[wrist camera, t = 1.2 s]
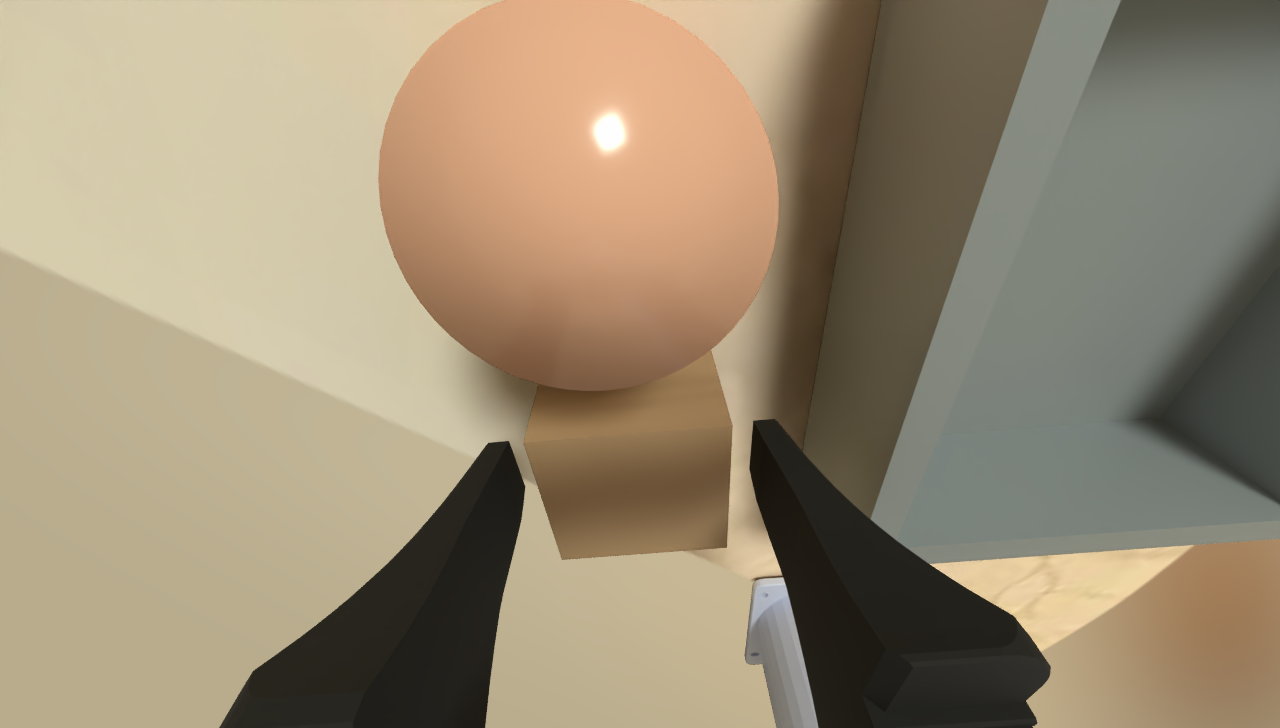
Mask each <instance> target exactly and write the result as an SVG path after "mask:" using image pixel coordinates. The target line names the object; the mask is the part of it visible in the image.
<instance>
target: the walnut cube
mask: <svg viewBox="0 0 1280 728" xmlns="http://www.w3.org/2000/svg"><path fill="white" fill-rule="evenodd" d="M523 443H524V446H525V449H526V452H527V455H528V458H529V461H530V464H531V467H532V470H533V473H534V476H535V479H536V482H537V485H538V489H539V492H540V494H541V498H542V501H543V503H544V507H545V510H546V513H547V516H548V518H549V521H550V525H551V528H552V531H553V534H554V537H555V540H556V543H557V546H558V549H559V552H560V555H561V558H562V560H565V559H578V558H591V557H605V556H619V555H631V554H644V553H645V554H646V553H658V552H673V551H686V550H700V549H713V548H726V547H727V532H728V510H729V489H730V468H731V447H732V422H731V419H730V415H729V412H728V408H727V405H726V401H725V398H724V394H723V391H722V387H721V384H720V380H719V377H718V373H717V370H716V366H715V362H714V359H713V355H712V352H711V350H709V351H708V352H707V353H706V354H705V355H703V356H702V357H700V358H699V359H697V360H696V361H694V362H693V363H691V364H689V365H688V366H686V367H685V368H682V369H680V370H678V371H676V372H674V373H672V374H670V375H668V376H666V377H663V378H660V379H658V380H655V381H652V382H649V383H646V384H642V385H638V386H634V387H630V388H623V389H616V390H608V391H579V390H567V389H561V388H555V387H549V386H545V385H541V384H538V388H537V392H536V395H535V399H534V403H533V407H532V411H531V415H530V419H529V423H528V427H527V431H526V435H525V439H524V442H523Z"/></svg>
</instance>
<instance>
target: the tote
mask: <svg viewBox="0 0 1280 728" xmlns="http://www.w3.org/2000/svg"><path fill="white" fill-rule="evenodd" d="M802 452H803V453H804V454H805V455H806V456H807V457H808V459H809V460H810V461H811V462H812V463H813V464H814V465H815V466H816V467H817V468H818V469H819V471H820V472H821V473H822V474H823V475H824V476H825V477H826V478H827V479H828V480H829V481H830V482H831V483H832V484H833V485H834V486H835V487H836V488H837V489H838V490H839V491H840V492H841V493H842V494H843V495H844V496H845V497H846V498H847V499H848V500H849V501H850V502H852V503H853V504H854V505H855V506H856V507H857V508H858V509H859V510H860V511H862V512H863V513H864V514H865V515H866V516H867V517H868V518H870V519H871V520H872V521H873V522H874V523H876V524H877V525H878V526H879V527H880V528H882V529H883V530H884V531H885V532H887V533H888V534H889V535H890V536H892V537H893V538H894V539H895V540H897V541H898V542H899V543H901V544H902V545H903V546H905V547H906V548H908V549H909V550H910V551H912V552H913V553H915V554H916V555H917V556H919V557H920V558H922V559H923V560H924V561H926V562H927V563H928V564H934V563H948V562H962V561H976V560H990V559H1004V558H1018V557H1031V556H1045V555H1059V554H1073V553H1087V552H1101V551H1115V550H1129V549H1143V548H1157V547H1171V546H1185V545H1198V544H1212V543H1226V542H1239V541H1254V540H1268V539H1280V0H882V1H881V7H880V13H879V18H878V24H877V30H876V35H875V41H874V47H873V52H872V58H871V64H870V70H869V75H868V81H867V87H866V92H865V98H864V104H863V109H862V115H861V121H860V126H859V132H858V138H857V143H856V149H855V155H854V161H853V166H852V172H851V178H850V183H849V189H848V195H847V200H846V206H845V212H844V217H843V223H842V229H841V235H840V240H839V246H838V252H837V257H836V263H835V269H834V274H833V280H832V286H831V291H830V297H829V303H828V309H827V314H826V320H825V326H824V331H823V337H822V343H821V348H820V354H819V360H818V365H817V371H816V377H815V382H814V388H813V394H812V400H811V405H810V411H809V417H808V422H807V428H806V434H805V439H804V445H803V451H802Z"/></svg>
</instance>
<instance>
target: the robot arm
mask: <svg viewBox="0 0 1280 728" xmlns="http://www.w3.org/2000/svg"><path fill="white" fill-rule="evenodd" d="M749 469H750V473H751V478H752V482H753V487H754V491H755V496H756V500H757V503H758V506H759V509H760V512H761V515H762V518H763V521H764V524H765V526H766V529H767V532H768V535H769V538H770V541H771V543H772V546H773V549H774V552H775V555H776V558H777V561H778V563H779V566H780V569H781V572H782V575H783V577H779V578H765V579H759V580H756V581H755V582H754V583H753V587H752V596H751V605H750V614H749V623H748V631H747V641H746V650H745V660H746V663H748V664H752V665H755V664H763V668H764V673H765V677H766V682H767V686H768V691H769V696H770V700H771V705H772V709H773V714H774V718H775V723H776V727H777V728H1033V727H1032V726H1035V725H1036V724H1037V720H1036V717H1035V716H1034V714H1033V712H1032V711H1031V709H1030V707H1029V706H1028V704H1027V702H1026V700H1027V699H1028V698H1029V697H1030V696H1032V695H1033V694H1034V693H1035V692H1036V691H1037V690H1038V689H1039V688H1040V687H1042V686H1043V684H1044V683H1045V682H1046V681H1047V680H1048V678H1049V676H1050V669H1051V667H1050V665H1049V664H1048V662H1047V661H1046V659H1045V658H1044V656H1043V655H1042V653H1041V652H1040V650H1039V649H1038V647H1037V646H1036V644H1035V643H1034V642H1033V640H1032V639H1031V637H1030V636H1029V635H1028V633H1027V632H1026V631H1025V630H1024V628H1023V627H1022V626H1021V625H1020V624H1019V622H1018V621H1017V620H1016V618H1015V617H1014V616H1013V615H1011V614H1009V613H1008V612H1006V611H1004V610H1002V609H1001V608H999V607H997V606H996V605H994V604H992V603H991V602H989V601H987V600H985V599H984V598H982V597H980V596H979V595H977V594H975V593H973V592H972V591H970V590H968V589H967V588H965V587H963V586H962V585H960V584H959V583H957V582H956V581H954V580H952V579H951V578H949V577H948V576H946V575H945V574H943V573H942V572H940V571H939V570H937V569H936V568H934V567H933V566H931V565H930V564H928V563H927V562H926V561H924V560H923V559H922V558H920V557H919V556H917V555H916V554H915V553H913V552H912V551H910V550H909V549H908V548H906V547H905V546H903V545H902V544H901V543H899V542H898V541H897V540H895V539H894V538H893V537H892V536H890V535H889V534H888V533H887V532H885V531H884V530H883V529H882V528H880V527H879V526H878V525H877V524H876V523H874V522H873V521H872V520H871V519H870V518H868V517H867V516H866V515H865V514H864V513H863V512H862V511H860V510H859V509H858V508H857V507H856V506H855V505H854V504H853V503H852V502H850V501H849V500H848V499H847V498H846V497H845V496H844V495H843V494H842V493H841V492H840V491H839V490H838V489H837V488H836V487H835V486H834V485H833V484H832V483H831V482H830V481H829V480H828V479H827V478H826V477H825V476H824V475H823V474H822V473H821V472H820V471H819V469H818V468H817V467H816V466H815V465H814V464H813V463H812V462H811V461H810V460H809V459H808V457H807V456H806V455H805V454H804V453H803V452H802V451H801V449H800V448H799V447H798V446H797V445H796V444H795V442H794V441H793V440H792V439H791V438H790V436H789V435H788V434H787V433H786V431H785V430H784V429H783V428H782V426H781V425H780V424H779V423H778V422H777V421H776V420H775V419H769V420H757V421H753V432H752V444H751V456H750V468H749ZM524 493H525V485H524V482H523V479H522V476H521V473H520V471H519V468H518V465H517V462H516V459H515V457H514V454H513V451H512V448H511V446H510V443H509V441H505V442H493V443H488V444H487V445H486V447H485V448H484V449H483V451H482V452H481V453H480V455H479V456H478V457H477V459H476V460H475V461H474V463H473V464H472V465H471V467H470V468H469V469H468V471H467V472H466V473H465V475H464V476H463V477H462V479H461V480H460V481H459V483H458V484H457V485H456V487H455V488H454V489H453V491H452V492H451V493H450V494H449V496H448V497H447V498H446V500H445V501H444V502H443V503H442V504H441V506H440V507H439V508H438V509H437V510H436V512H435V513H434V514H433V515H432V516H431V517H430V518H429V520H428V521H427V522H426V523H425V524H424V525H423V527H422V528H421V529H420V530H419V531H418V532H417V534H416V535H415V536H414V537H413V538H412V539H411V540H410V541H409V542H408V543H407V544H406V545H405V546H404V547H403V549H402V550H401V551H400V552H399V553H398V554H397V555H396V556H395V557H394V558H393V559H392V560H391V561H390V562H389V563H388V564H387V565H386V566H385V567H383V568H382V569H381V570H380V571H379V572H378V573H377V574H376V575H375V576H374V577H373V578H371V579H370V580H369V581H368V582H367V583H366V584H365V585H364V586H363V587H361V588H360V589H359V590H358V591H357V592H356V593H355V594H354V595H353V596H351V597H350V598H349V599H348V600H347V601H346V602H344V603H343V604H342V605H341V606H339V607H338V608H337V609H336V610H335V611H333V612H332V613H331V614H330V615H328V616H327V617H326V618H325V619H323V620H322V621H321V622H320V623H318V624H317V625H316V626H315V627H313V628H312V629H311V630H309V631H308V632H307V633H305V634H304V635H303V636H301V637H300V638H299V639H297V640H296V641H295V642H293V643H292V644H290V645H289V646H288V647H286V648H285V649H283V650H282V651H281V652H279V653H278V654H277V655H275V656H274V657H272V658H271V659H270V660H268V661H267V662H265V663H264V664H263V665H261V666H260V667H258V668H257V669H255V670H254V671H253V672H252V674H251V675H250V677H249V679H248V680H247V682H246V684H245V685H244V687H243V689H242V690H241V692H240V694H239V695H238V697H237V699H236V700H235V702H234V704H233V705H232V707H231V709H230V711H229V712H228V714H227V716H226V717H225V719H224V721H223V723H222V724H221V726H220V727H219V728H485V723H486V712H487V703H488V695H489V685H490V676H491V668H492V661H493V653H494V646H495V639H496V632H497V625H498V619H499V612H500V606H501V602H502V596H503V592H504V588H505V584H506V580H507V576H508V572H509V568H510V564H511V560H512V556H513V552H514V548H515V544H516V540H517V536H518V531H519V527H520V523H521V517H522V510H523V503H524Z"/></svg>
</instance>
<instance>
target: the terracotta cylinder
mask: <svg viewBox="0 0 1280 728" xmlns="http://www.w3.org/2000/svg"><path fill="white" fill-rule="evenodd" d="M378 180H379V193H380V205H381V211H382V216H383V220H384V225H385V229H386V234H387V237H388V239H389V242H390V245H391V248H392V251H393V254H394V257H395V259H396V261H397V263H398V265H399V267H400V269H401V271H402V273H403V275H404V277H405V279H406V281H407V283H408V284H409V286H410V287H411V289H412V290H413V292H414V294H415V295H416V297H417V298H418V300H419V301H420V303H421V304H422V305H423V306H424V307H425V309H426V310H427V311H428V312H429V314H430V315H431V316H432V317H433V319H434V320H435V321H436V322H437V323H438V324H439V325H440V326H441V327H442V328H443V329H444V330H445V331H446V332H447V333H448V334H449V335H450V336H451V337H453V338H454V339H455V340H456V341H458V342H459V343H460V344H461V345H463V346H464V347H465V348H466V349H468V350H469V351H470V352H472V353H473V354H475V355H476V356H478V357H480V358H481V359H483V360H484V361H486V362H487V363H489V364H491V365H493V366H495V367H497V368H499V369H501V370H503V371H505V372H507V373H509V374H512V375H514V376H517V377H519V378H522V379H525V380H527V381H531V382H534V383H538V384H541V385H545V386H549V387H555V388H561V389H567V390H579V391H608V390H616V389H623V388H630V387H634V386H638V385H642V384H646V383H649V382H652V381H655V380H658V379H660V378H663V377H666V376H668V375H670V374H672V373H674V372H676V371H678V370H680V369H682V368H685V367H686V366H688V365H689V364H691V363H693V362H694V361H696V360H697V359H699V358H700V357H702V356H703V355H705V354H706V353H707V352H708V351H709V350H711V349H712V348H713V347H714V346H716V345H717V344H718V343H719V342H720V341H721V340H722V339H723V338H724V337H725V336H726V335H727V334H728V333H729V332H730V331H731V330H732V329H733V328H734V327H735V325H736V324H737V323H738V321H739V320H740V319H741V317H742V316H743V315H744V314H745V312H746V311H747V309H748V308H749V306H750V304H751V303H752V301H753V299H754V298H755V296H756V294H757V292H758V291H759V288H760V286H761V284H762V281H763V279H764V277H765V274H766V272H767V270H768V266H769V263H770V260H771V256H772V253H773V249H774V245H775V239H776V233H777V226H778V209H779V193H778V183H777V174H776V167H775V163H774V159H773V155H772V151H771V147H770V142H769V140H768V137H767V134H766V132H765V129H764V127H763V124H762V122H761V119H760V117H759V114H758V112H757V111H756V109H755V107H754V105H753V104H752V102H751V100H750V98H749V96H748V95H747V93H746V91H745V89H744V88H743V86H742V85H741V84H740V82H739V81H738V80H737V79H736V77H735V76H734V75H733V73H732V72H731V71H730V69H729V68H728V67H727V66H726V64H725V63H724V62H723V61H722V60H721V59H720V58H719V57H718V56H717V55H716V54H715V53H714V52H713V51H712V50H711V49H710V48H709V47H708V46H707V45H706V44H705V43H704V42H702V41H701V40H700V39H699V38H698V37H696V36H695V35H693V34H692V33H691V32H689V31H688V30H686V29H685V28H684V27H682V26H681V25H679V24H678V23H677V22H675V21H674V20H672V19H670V18H668V17H666V16H664V15H662V14H660V13H658V12H656V11H654V10H652V9H650V8H648V7H646V6H644V5H641V4H638V3H635V2H632V1H628V0H503V1H501V2H498V3H496V4H493V5H490V6H488V7H485V8H483V9H480V10H479V11H477V12H475V13H474V14H472V15H471V16H469V17H467V18H466V19H464V20H462V21H461V22H459V23H457V24H456V25H454V26H453V27H452V28H450V29H449V30H448V31H447V32H446V33H445V34H444V35H442V36H441V37H440V38H439V39H438V40H437V41H436V42H434V43H433V44H432V45H431V46H430V47H429V48H428V50H427V51H426V52H425V53H424V54H423V56H422V57H421V58H420V59H419V61H418V62H417V63H416V64H415V66H414V67H413V68H412V69H411V71H410V72H409V74H408V76H407V78H406V80H405V81H404V83H403V85H402V87H401V88H400V90H399V92H398V94H397V95H396V98H395V100H394V103H393V106H392V108H391V111H390V114H389V117H388V119H387V122H386V125H385V130H384V135H383V140H382V145H381V150H380V162H379V179H378Z"/></svg>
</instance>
